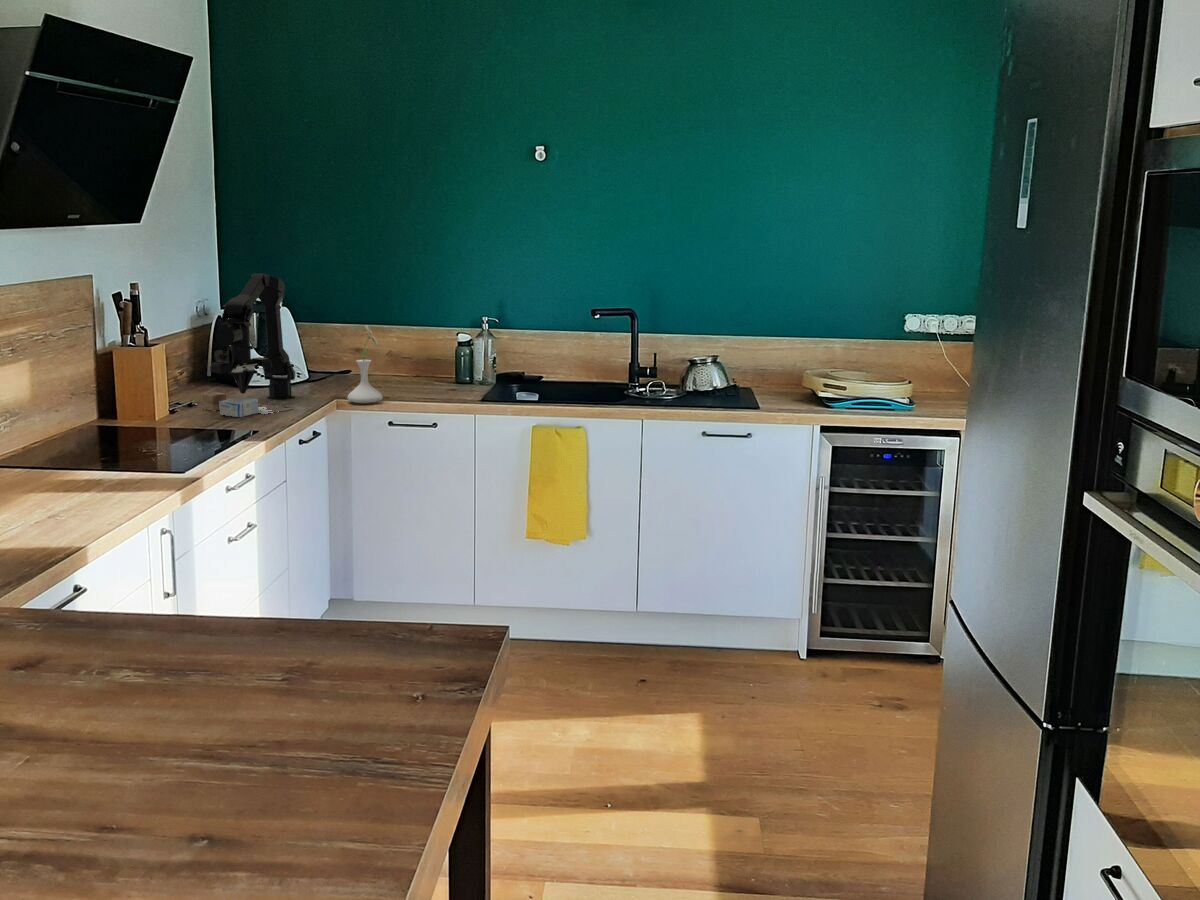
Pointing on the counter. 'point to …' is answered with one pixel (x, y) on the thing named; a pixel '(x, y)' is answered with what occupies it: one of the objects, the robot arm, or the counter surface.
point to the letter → (264, 410)
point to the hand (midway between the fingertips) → (242, 393)
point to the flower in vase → (365, 379)
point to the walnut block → (213, 400)
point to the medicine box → (238, 407)
